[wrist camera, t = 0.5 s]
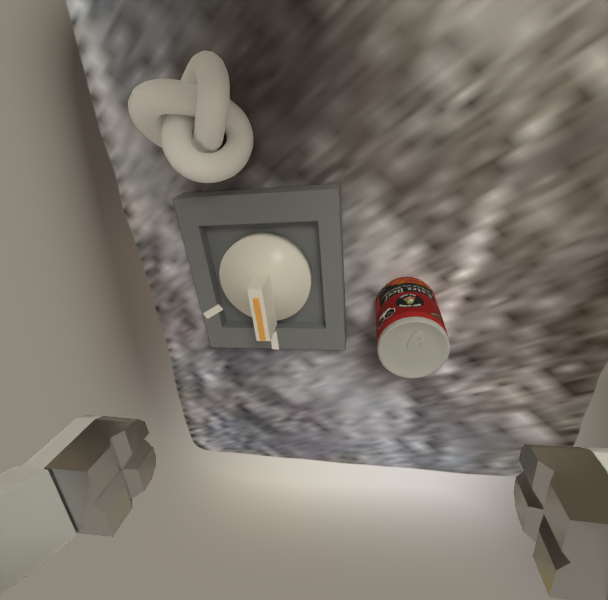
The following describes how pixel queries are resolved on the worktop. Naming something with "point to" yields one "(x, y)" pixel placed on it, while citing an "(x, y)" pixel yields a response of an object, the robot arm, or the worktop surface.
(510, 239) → the worktop surface
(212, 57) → the white decorative knot
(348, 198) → the worktop surface
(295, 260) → the dial
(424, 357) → the canned food
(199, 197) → the panel
